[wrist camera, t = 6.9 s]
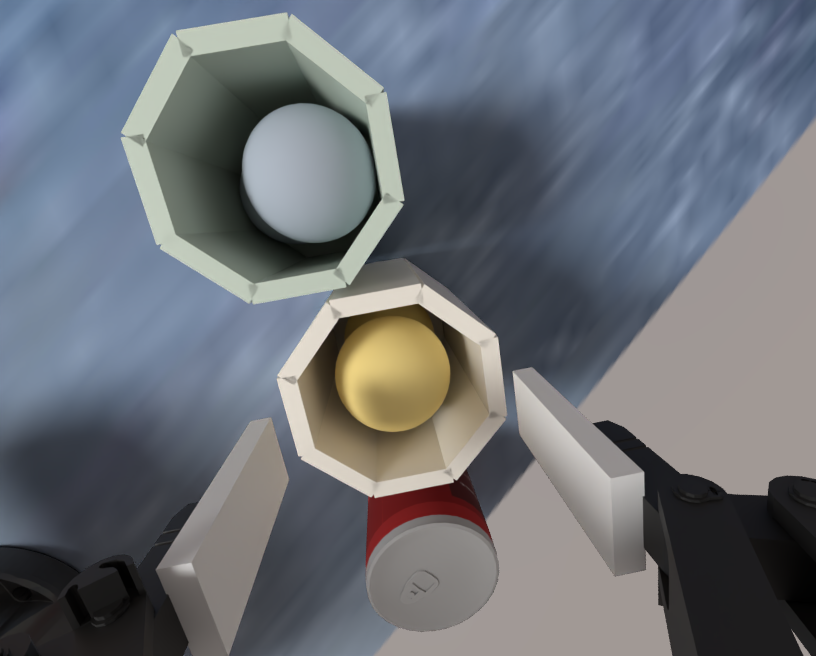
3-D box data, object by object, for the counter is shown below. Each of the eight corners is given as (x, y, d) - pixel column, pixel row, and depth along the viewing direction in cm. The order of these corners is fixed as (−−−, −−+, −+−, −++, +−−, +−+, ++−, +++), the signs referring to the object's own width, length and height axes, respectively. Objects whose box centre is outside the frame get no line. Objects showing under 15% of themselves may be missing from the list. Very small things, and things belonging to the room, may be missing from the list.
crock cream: (339, 394, 31) (313, 510, 19) (310, 273, 29) (258, 313, 16) (459, 371, 31) (513, 470, 19) (441, 249, 29) (489, 270, 16)
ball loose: (352, 405, 25) (344, 467, 19) (330, 313, 23) (314, 351, 17) (447, 387, 25) (468, 443, 19) (433, 294, 23) (451, 326, 17)
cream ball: (356, 371, 30) (352, 405, 24) (339, 294, 29) (330, 312, 23) (434, 356, 30) (447, 387, 25) (421, 279, 29) (432, 292, 23)
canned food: (353, 489, 34) (342, 612, 23) (395, 409, 32) (404, 503, 21) (434, 519, 35) (458, 648, 24) (478, 444, 33) (525, 548, 23)
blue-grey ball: (237, 258, 19) (317, 246, 15) (198, 121, 17) (277, 70, 14) (331, 239, 23) (411, 226, 20) (307, 128, 22) (389, 91, 18)
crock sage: (267, 275, 28) (181, 317, 16) (228, 130, 26) (89, 44, 13) (399, 251, 29) (416, 274, 16) (373, 105, 26) (370, -2, 14)
